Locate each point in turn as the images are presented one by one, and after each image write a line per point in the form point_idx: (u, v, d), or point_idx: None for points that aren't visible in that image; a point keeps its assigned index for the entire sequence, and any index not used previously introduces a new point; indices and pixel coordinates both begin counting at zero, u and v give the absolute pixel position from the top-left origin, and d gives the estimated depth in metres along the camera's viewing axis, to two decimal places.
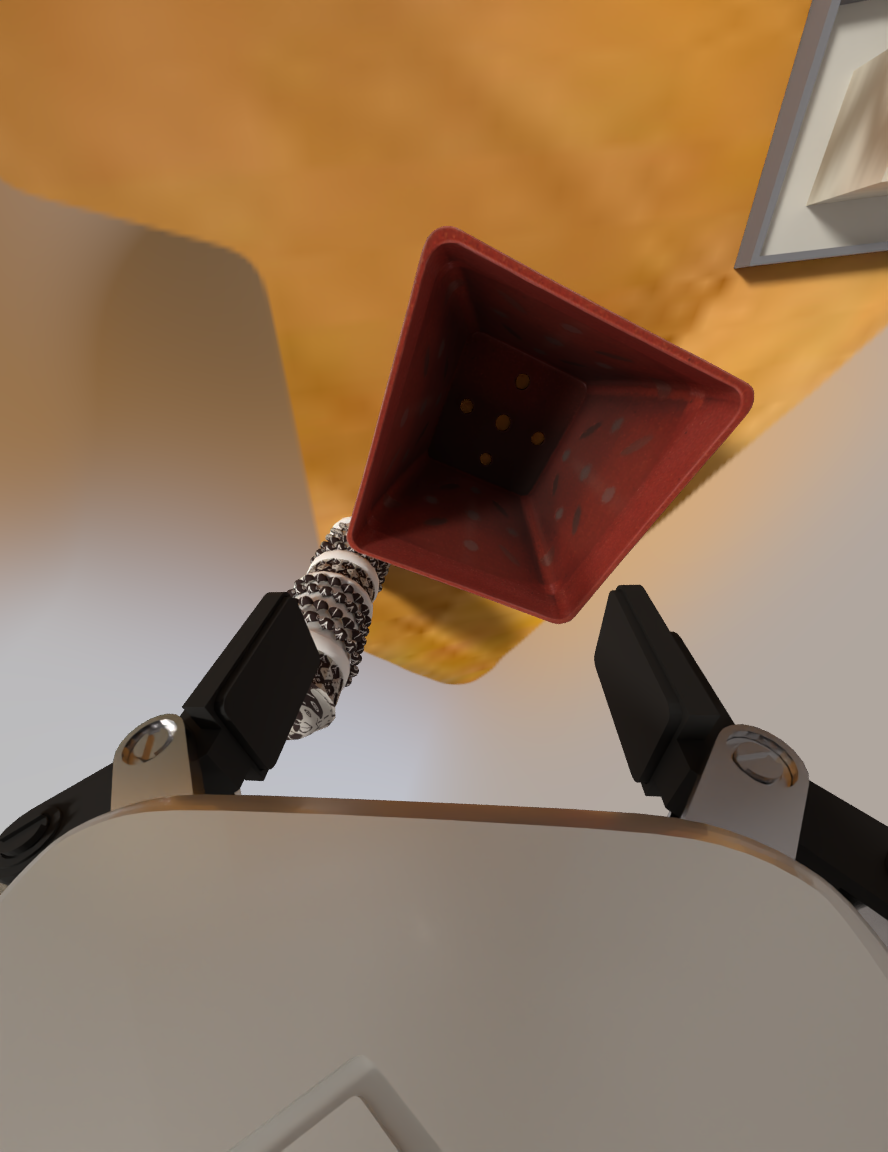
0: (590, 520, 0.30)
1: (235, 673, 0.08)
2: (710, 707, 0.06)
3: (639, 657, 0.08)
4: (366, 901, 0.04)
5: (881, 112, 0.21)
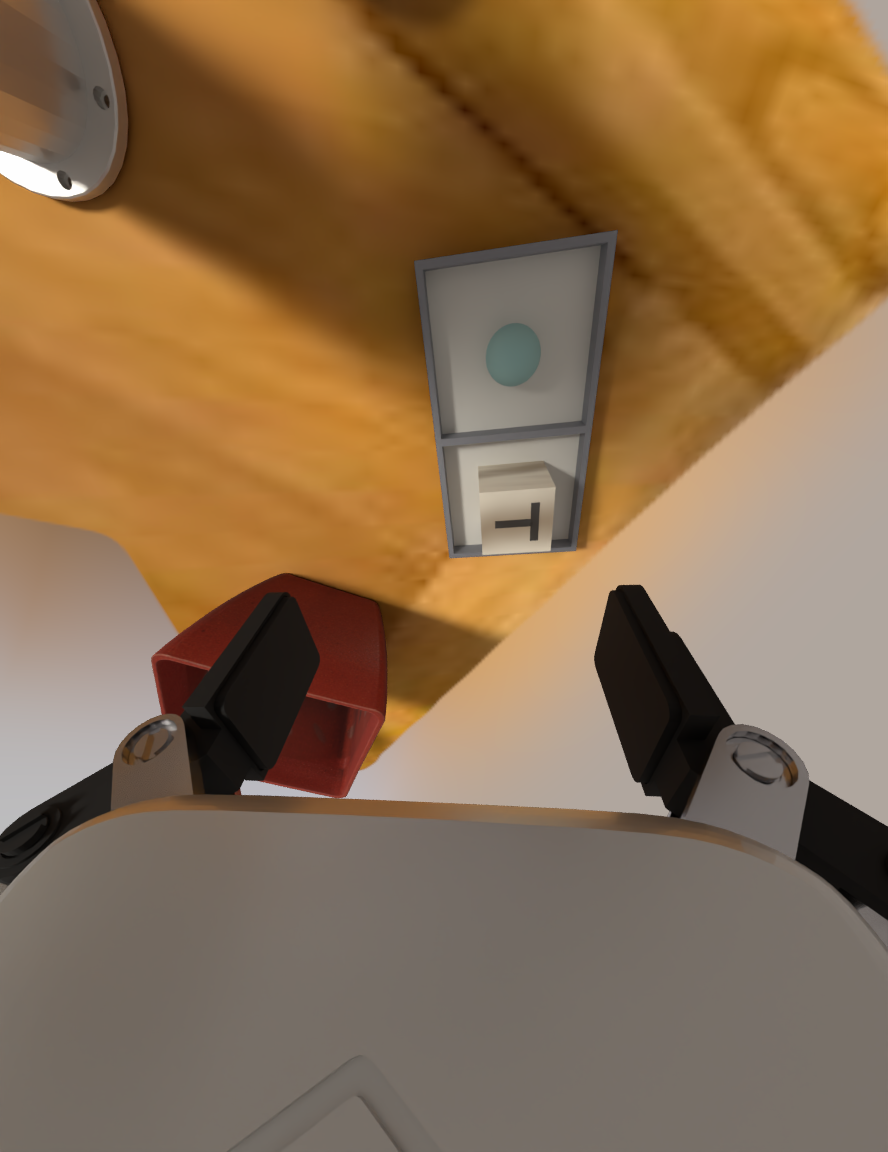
0: (361, 722, 0.42)
1: (235, 673, 0.08)
2: (710, 708, 0.06)
3: (639, 657, 0.08)
4: (366, 901, 0.04)
5: None
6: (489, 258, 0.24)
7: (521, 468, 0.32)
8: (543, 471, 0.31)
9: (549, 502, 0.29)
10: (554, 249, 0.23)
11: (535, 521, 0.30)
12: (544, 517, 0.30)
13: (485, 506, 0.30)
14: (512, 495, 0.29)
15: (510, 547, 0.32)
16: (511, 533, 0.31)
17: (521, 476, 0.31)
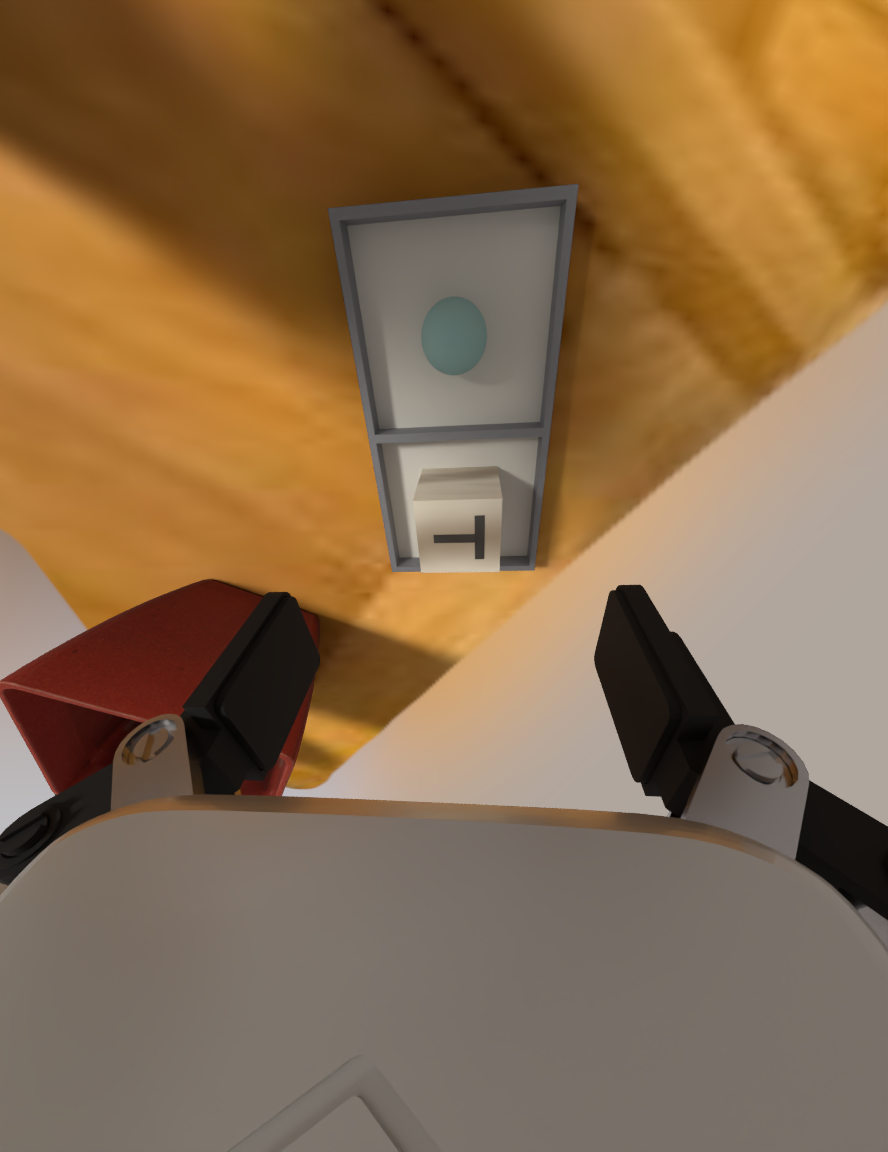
0: None
1: (235, 673, 0.08)
2: (710, 708, 0.06)
3: (639, 657, 0.08)
4: (366, 901, 0.04)
5: None
6: (421, 211, 0.19)
7: (470, 473, 0.28)
8: (493, 478, 0.27)
9: (495, 516, 0.25)
10: (501, 204, 0.19)
11: (480, 537, 0.26)
12: (491, 533, 0.25)
13: (421, 517, 0.25)
14: (452, 505, 0.24)
15: (453, 565, 0.27)
16: (453, 549, 0.26)
17: (466, 484, 0.26)
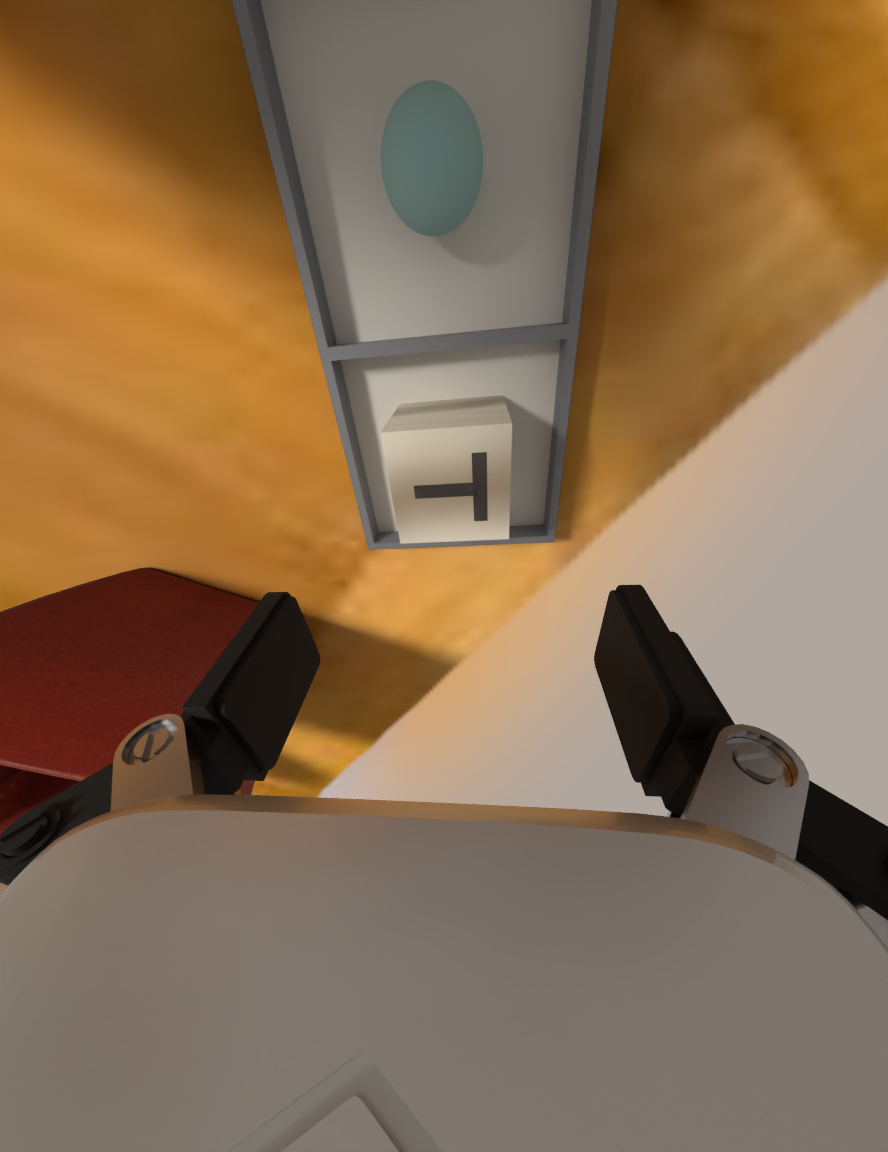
0: None
1: (235, 673, 0.08)
2: (710, 708, 0.06)
3: (639, 657, 0.08)
4: (366, 901, 0.04)
5: None
6: None
7: (464, 404, 0.20)
8: (497, 405, 0.19)
9: (502, 452, 0.17)
10: None
11: (481, 487, 0.18)
12: (496, 481, 0.18)
13: (394, 459, 0.17)
14: (438, 438, 0.17)
15: (444, 532, 0.20)
16: (443, 507, 0.19)
17: (459, 413, 0.18)
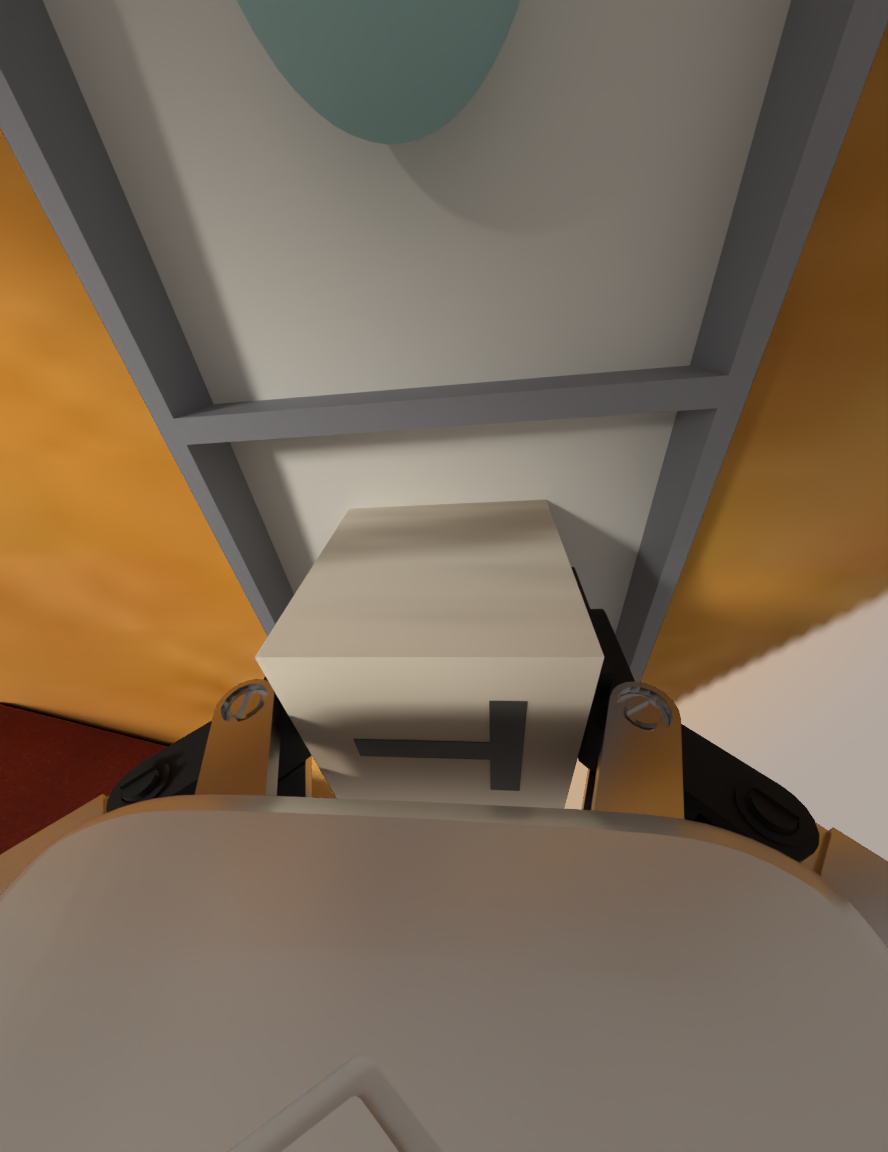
0: None
1: None
2: (607, 667, 0.07)
3: None
4: (366, 901, 0.04)
5: None
6: None
7: (472, 526, 0.10)
8: (544, 544, 0.09)
9: (569, 704, 0.07)
10: None
11: (509, 749, 0.08)
12: (547, 743, 0.07)
13: (301, 699, 0.07)
14: (404, 673, 0.06)
15: (426, 797, 0.09)
16: (423, 768, 0.08)
17: (462, 568, 0.08)
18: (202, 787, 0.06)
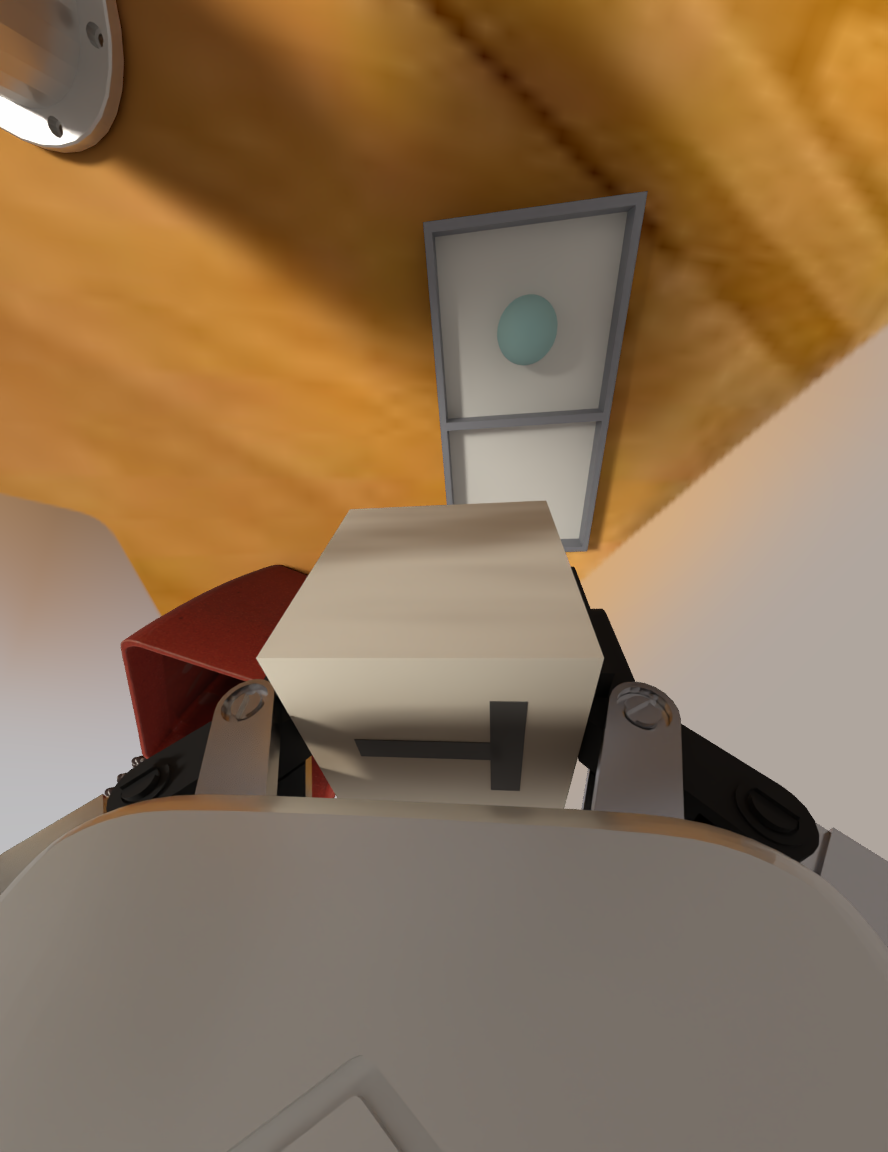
0: None
1: None
2: (607, 667, 0.07)
3: None
4: (366, 901, 0.04)
5: None
6: (505, 221, 0.22)
7: (473, 527, 0.10)
8: (545, 545, 0.09)
9: (569, 705, 0.07)
10: (576, 212, 0.21)
11: (509, 750, 0.08)
12: (547, 743, 0.07)
13: (303, 700, 0.07)
14: (404, 674, 0.06)
15: (427, 797, 0.09)
16: (424, 769, 0.08)
17: (462, 569, 0.08)
18: (202, 787, 0.06)
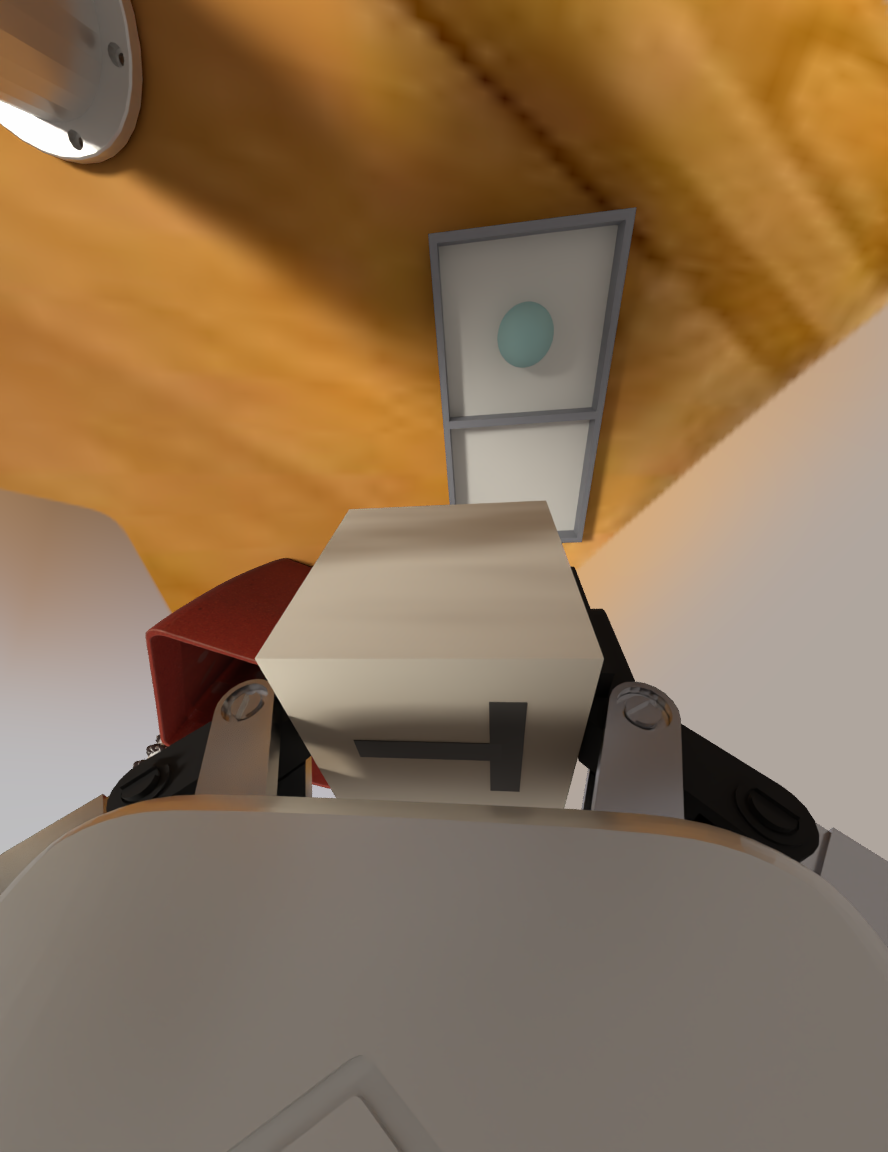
0: None
1: None
2: (607, 667, 0.07)
3: None
4: (366, 901, 0.04)
5: None
6: (505, 233, 0.23)
7: (472, 527, 0.10)
8: (545, 545, 0.09)
9: (569, 705, 0.07)
10: (571, 226, 0.23)
11: (509, 750, 0.08)
12: (546, 744, 0.07)
13: (302, 700, 0.07)
14: (403, 675, 0.06)
15: (426, 798, 0.09)
16: (423, 770, 0.08)
17: (461, 569, 0.08)
18: (202, 787, 0.06)
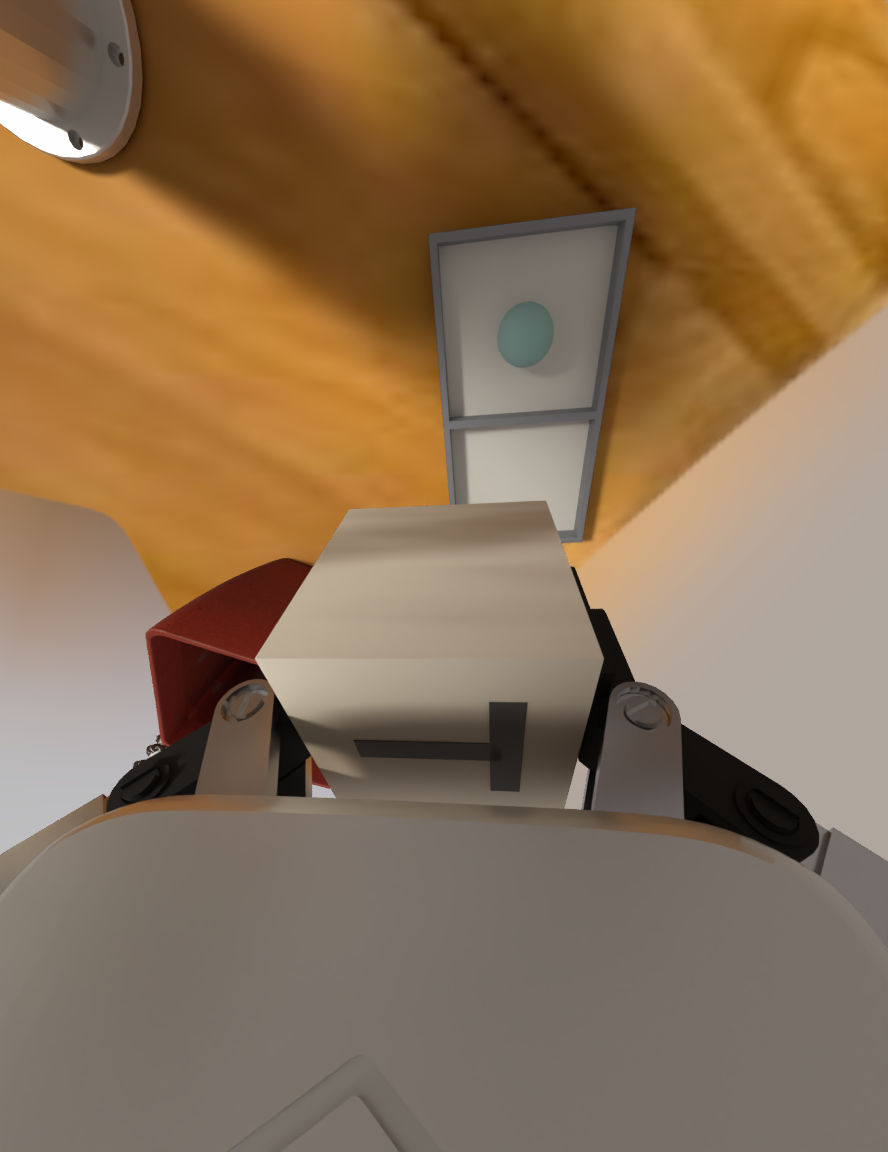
0: None
1: None
2: (607, 667, 0.07)
3: None
4: (366, 901, 0.04)
5: None
6: (505, 233, 0.23)
7: (472, 527, 0.10)
8: (545, 545, 0.09)
9: (569, 705, 0.07)
10: (571, 226, 0.23)
11: (509, 750, 0.08)
12: (546, 744, 0.07)
13: (302, 700, 0.07)
14: (403, 675, 0.06)
15: (426, 798, 0.09)
16: (423, 770, 0.08)
17: (461, 569, 0.08)
18: (202, 787, 0.06)
